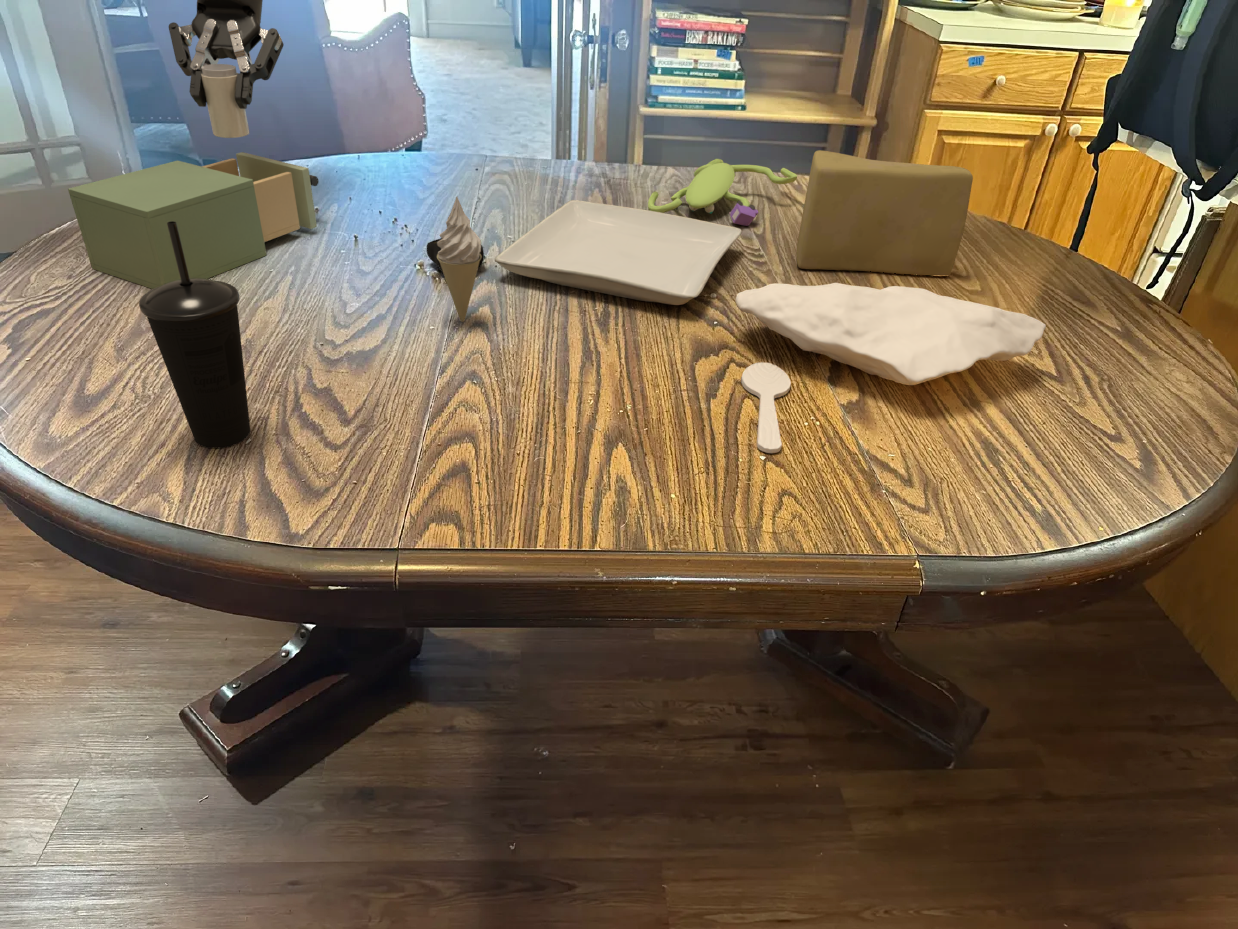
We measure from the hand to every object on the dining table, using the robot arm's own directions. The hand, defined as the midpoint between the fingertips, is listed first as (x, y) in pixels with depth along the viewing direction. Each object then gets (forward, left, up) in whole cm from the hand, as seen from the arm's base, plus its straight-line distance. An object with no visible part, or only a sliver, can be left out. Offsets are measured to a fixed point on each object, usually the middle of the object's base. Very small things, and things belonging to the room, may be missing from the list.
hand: (220, 103), depth 107 cm
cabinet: (-1, -10, -18) cm, 21 cm away
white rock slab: (+85, +14, -18) cm, 88 cm away
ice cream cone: (+39, -4, -18) cm, 43 cm away
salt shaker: (-1, +2, -4) cm, 4 cm away
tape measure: (+29, +8, -18) cm, 35 cm away
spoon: (+77, -3, -18) cm, 79 cm away
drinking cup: (+35, -36, -18) cm, 53 cm away
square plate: (+47, +23, -18) cm, 55 cm away
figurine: (+48, +58, -18) cm, 78 cm away
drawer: (-1, +3, -17) cm, 18 cm away
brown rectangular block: (+77, +44, -18) cm, 90 cm away
